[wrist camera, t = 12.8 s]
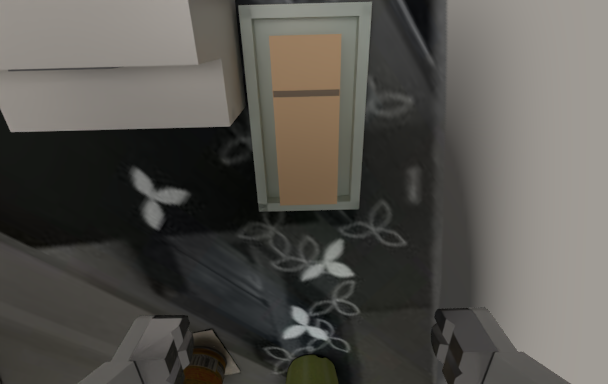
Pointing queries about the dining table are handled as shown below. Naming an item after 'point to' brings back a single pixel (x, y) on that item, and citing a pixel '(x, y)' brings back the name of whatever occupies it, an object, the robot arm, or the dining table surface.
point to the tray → (353, 86)
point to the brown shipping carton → (306, 116)
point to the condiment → (208, 361)
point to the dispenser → (119, 64)
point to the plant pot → (311, 371)
